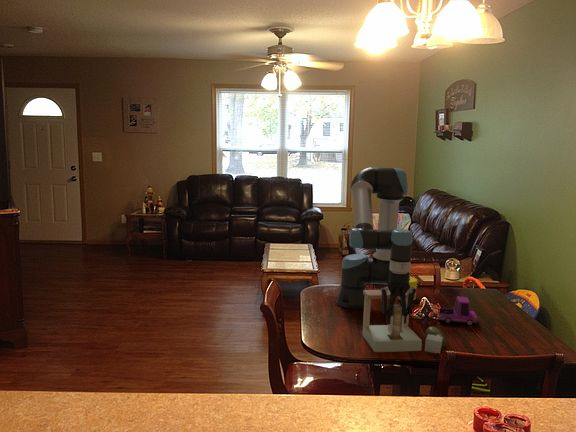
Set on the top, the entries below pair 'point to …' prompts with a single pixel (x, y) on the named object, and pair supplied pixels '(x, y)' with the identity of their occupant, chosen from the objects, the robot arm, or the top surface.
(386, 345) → the socket board
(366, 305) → the beige arch frame
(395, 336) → the peg
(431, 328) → the pear
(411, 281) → the tape roll
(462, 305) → the toy truck
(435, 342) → the small box
